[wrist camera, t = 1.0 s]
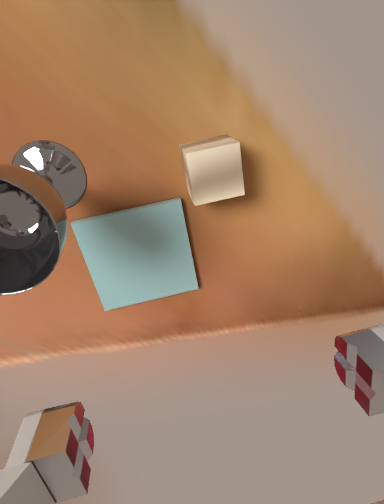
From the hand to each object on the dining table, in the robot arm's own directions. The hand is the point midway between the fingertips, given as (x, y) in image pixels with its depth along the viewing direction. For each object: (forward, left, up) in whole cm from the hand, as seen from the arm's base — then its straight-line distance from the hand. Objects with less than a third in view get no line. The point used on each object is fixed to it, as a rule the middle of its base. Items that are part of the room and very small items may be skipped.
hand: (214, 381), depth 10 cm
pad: (+9, -4, -27) cm, 29 cm away
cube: (0, +5, -27) cm, 28 cm away
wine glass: (-2, -11, -27) cm, 29 cm away
